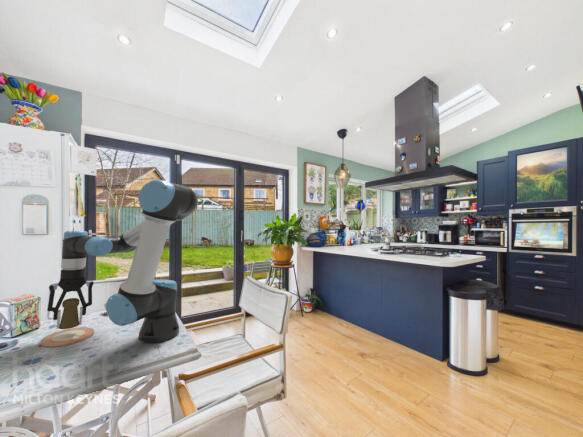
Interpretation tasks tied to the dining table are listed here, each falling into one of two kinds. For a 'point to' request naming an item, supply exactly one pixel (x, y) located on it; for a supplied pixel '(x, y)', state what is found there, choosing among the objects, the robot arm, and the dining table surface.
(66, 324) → the cork
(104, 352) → the dining table surface
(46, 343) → the dish
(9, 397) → the dining table surface
